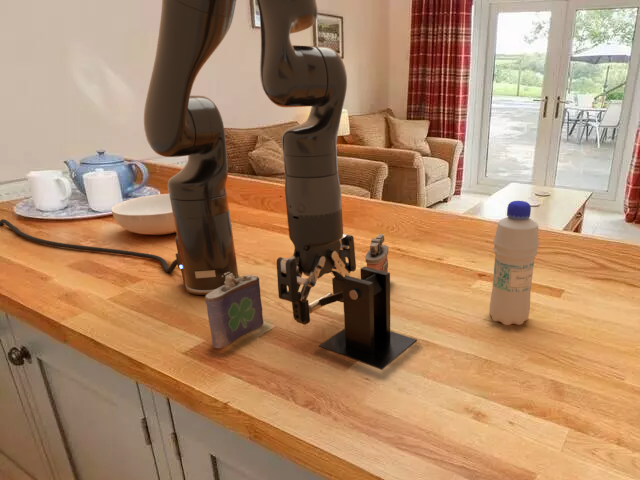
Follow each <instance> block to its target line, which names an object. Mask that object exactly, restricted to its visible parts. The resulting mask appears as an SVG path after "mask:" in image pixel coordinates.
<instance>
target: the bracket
mask: <svg viewBox="0 0 640 480" xmlns="http://www.w3.org/2000/svg"><path fill="white" fill-rule="evenodd" d="M359 271H360V278H358V277H354V276H351V275H349V276H345V277H343V278H342V282H343V302H342V303H343V319H344V328H343V329H341V330H340V331H339V332H337V333H335V334H334V335H332V336H331V337H329V338H327V339H326V340H324V341H323V342H321V343H319V345H318V348H322V349H324V350H327V351H330V352H332V353H335V354H337V355H340V356H344V357H346V358H349V359H352V360H355V361H356V362H359V363H362V364H365V365H368V366H371V367H373V368H376V369H379V370H384V369H385V368H386V367H387V366H389V365H390V364H391V363H392V362H394V361H395V360H396V359H397V358H399V357H400V355H402V354H403V353H404V352H406V350H407V349H409V348H410V347H412V346H413V345H414V344H415V343H416V342H417V341H418V339H416V338H413V337H410V336H407V335H404V334H401V333H397V332H394V331H392V330H391V272H385V271H381V270H377V269H373V268H369V267H367V266H363V267H361V268H360V270H359ZM374 274H375V275H376V277H377V280H378V282H379V284H380V287H381V289H382V290H381V291H380V292H378V293H376V294H375V295H373V282H369V281H365V280H362V279H363V278H366V277H369V276H372V275H374Z"/></svg>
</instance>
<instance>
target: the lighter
mask: <svg viewBox="0 0 640 480" xmlns="http://www.w3.org/2000/svg"><path fill="white" fill-rule="evenodd" d="M384 242H385V235H384V234H383V233H379V234H377V236H376V237H375V238H371V240H370V244H369V250H368V251H367V252H366V254H365V256H364V257H365V263H366V267H369V268H373V269H377V270H381V271H385V272H388V268H389V260H388V258H389V257H388V255H389V252H390V251H389V249H390V248H389V245H387V244H384Z"/></svg>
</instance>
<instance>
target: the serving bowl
mask: <svg viewBox="0 0 640 480" xmlns="http://www.w3.org/2000/svg"><path fill="white" fill-rule="evenodd" d="M110 211H111V215H112V216H113V219H114V220H115V221H116V222H117V224H118V225H119V226H120V227H122V229H124V230H127V231H128V232H131V233H135V234H140V235H150V236H163V235H171V234H174V233H175V234H176V228H175V223H174V217H173V213H172V207H171V202H170V197H169V193H161V194H150V195H144V196H139V197H134V198H130V199H127V200H124V201H122V202H118V203H116V204H115V205H113V206H112V207H111V208H110Z"/></svg>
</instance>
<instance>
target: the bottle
mask: <svg viewBox="0 0 640 480" xmlns="http://www.w3.org/2000/svg"><path fill="white" fill-rule="evenodd" d="M531 206H532V205H530V203H529V202H527V201H524V200H513V201H511V202H509V203H508V205H507V207H506V217H504V218H501V219H500V220H498V222H497V226H496V230H495V234H494V239H493V244H494V245H493V249H492V250H493V252H494V265H493V266H494V267H493V277H492V287H491V288H492V289H491V295H490V301H489V316H491V320H492V321H493V322H500V323H501V324H503V325H505V326H511V325H517V326H520V325H523V324H524V322H525V321H528V320H529V317H530V311H531V291H532V283H533V274H534V265H535V258H536V256H537V255H538V248H539V246H540V243H539V224H538V223H537V221H535V220H533V219H531V213H532V212H531V211H532V207H531Z"/></svg>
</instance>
